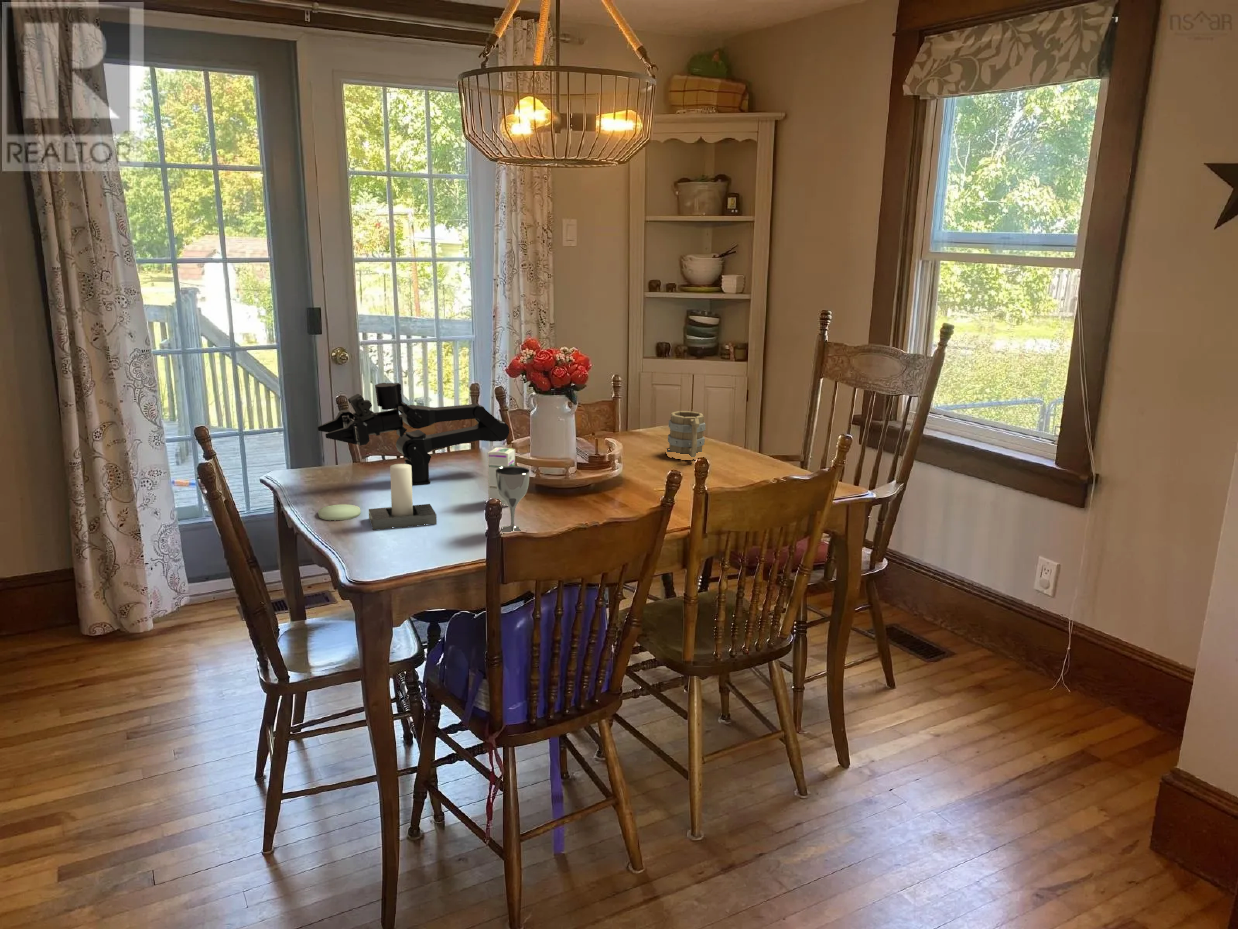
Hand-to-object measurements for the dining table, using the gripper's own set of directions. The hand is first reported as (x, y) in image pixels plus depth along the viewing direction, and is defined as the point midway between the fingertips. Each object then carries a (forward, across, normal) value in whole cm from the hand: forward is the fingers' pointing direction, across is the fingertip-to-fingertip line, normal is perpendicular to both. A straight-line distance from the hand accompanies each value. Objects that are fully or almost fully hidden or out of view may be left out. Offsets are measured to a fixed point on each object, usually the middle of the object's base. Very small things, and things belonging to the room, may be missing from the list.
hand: (321, 432), depth 234 cm
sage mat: (+2, +20, +16) cm, 26 cm away
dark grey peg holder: (-10, +32, +18) cm, 38 cm away
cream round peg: (-10, +32, +18) cm, 38 cm away
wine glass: (-31, +50, +20) cm, 62 cm away
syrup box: (-38, +28, +20) cm, 51 cm away
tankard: (-110, +9, +27) cm, 114 cm away
